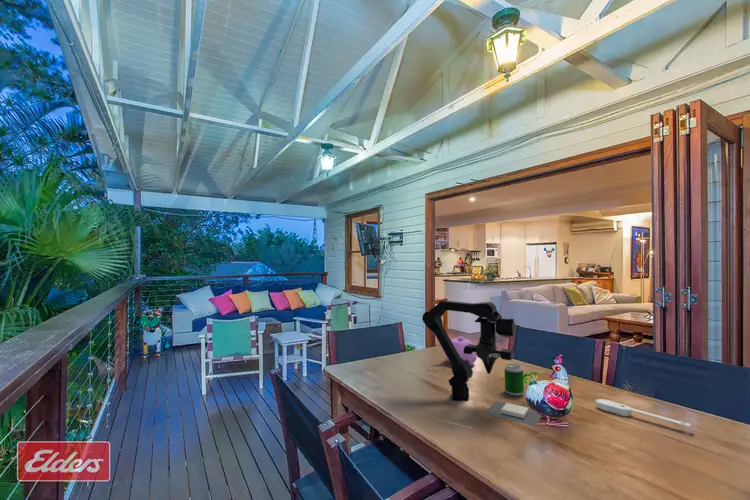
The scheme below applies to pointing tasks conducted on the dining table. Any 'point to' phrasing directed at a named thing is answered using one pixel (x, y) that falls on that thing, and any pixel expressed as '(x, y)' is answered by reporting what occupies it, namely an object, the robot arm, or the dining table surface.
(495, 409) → the mat
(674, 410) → the dining table surface
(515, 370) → the soda can
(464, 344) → the teapot
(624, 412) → the spatula
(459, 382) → the robot arm
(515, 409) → the tile
